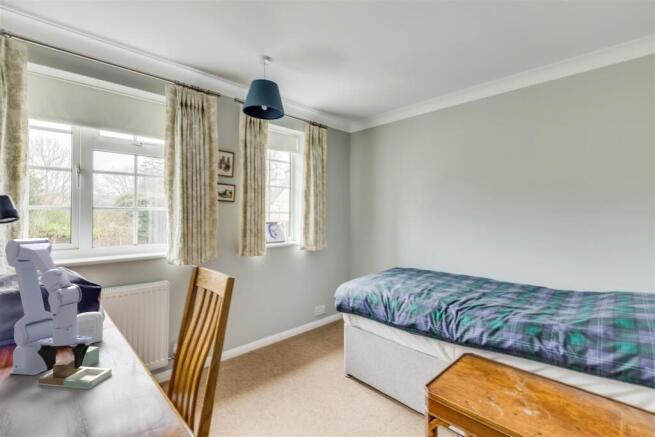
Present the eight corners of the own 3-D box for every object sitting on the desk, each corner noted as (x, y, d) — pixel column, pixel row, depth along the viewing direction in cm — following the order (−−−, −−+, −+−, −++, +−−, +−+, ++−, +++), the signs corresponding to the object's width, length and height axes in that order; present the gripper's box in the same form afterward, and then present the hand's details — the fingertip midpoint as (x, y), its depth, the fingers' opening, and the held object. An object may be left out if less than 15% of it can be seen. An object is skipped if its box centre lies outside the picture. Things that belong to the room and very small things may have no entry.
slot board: (38, 384, 89) (38, 378, 89) (65, 370, 97) (65, 365, 97) (88, 388, 87) (88, 382, 87) (111, 374, 95) (111, 368, 95)
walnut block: (53, 381, 90) (53, 365, 90) (62, 374, 94) (62, 358, 94) (67, 380, 91) (67, 364, 91) (76, 373, 95) (76, 358, 94)
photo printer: (102, 338, 123) (102, 308, 123) (103, 341, 120) (103, 311, 120) (70, 344, 116) (70, 313, 116) (69, 348, 113) (69, 316, 113)
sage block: (78, 366, 100) (78, 351, 100) (88, 360, 104) (88, 346, 104) (88, 366, 100) (88, 352, 100) (98, 361, 104) (99, 347, 104)
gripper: (98, 319, 97) (98, 360, 97) (49, 321, 95) (49, 363, 95) (84, 327, 90) (83, 371, 90) (30, 330, 88) (30, 374, 88)
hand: (65, 368), depth 92 cm, fingers open, 7 cm apart
